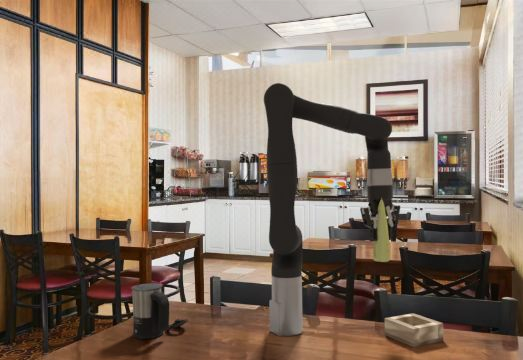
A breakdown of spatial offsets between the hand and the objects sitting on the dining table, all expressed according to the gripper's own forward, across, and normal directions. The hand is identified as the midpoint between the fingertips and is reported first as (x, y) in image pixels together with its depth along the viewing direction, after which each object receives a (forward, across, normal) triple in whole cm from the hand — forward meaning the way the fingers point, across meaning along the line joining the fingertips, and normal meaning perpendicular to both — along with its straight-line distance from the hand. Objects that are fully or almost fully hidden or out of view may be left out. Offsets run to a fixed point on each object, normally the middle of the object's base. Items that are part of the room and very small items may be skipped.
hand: (381, 239), depth 151 cm
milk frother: (+27, +60, -33) cm, 74 cm away
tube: (+7, 0, 0) cm, 7 cm away
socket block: (+28, -3, +9) cm, 30 cm away
